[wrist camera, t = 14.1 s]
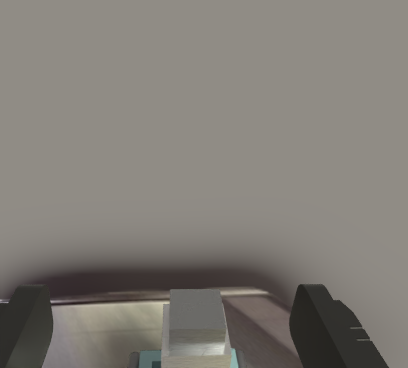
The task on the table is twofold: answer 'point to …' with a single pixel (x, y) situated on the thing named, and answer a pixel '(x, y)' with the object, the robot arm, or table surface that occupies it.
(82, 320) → the table surface
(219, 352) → the stepped metal tower
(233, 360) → the tray
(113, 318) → the table surface
